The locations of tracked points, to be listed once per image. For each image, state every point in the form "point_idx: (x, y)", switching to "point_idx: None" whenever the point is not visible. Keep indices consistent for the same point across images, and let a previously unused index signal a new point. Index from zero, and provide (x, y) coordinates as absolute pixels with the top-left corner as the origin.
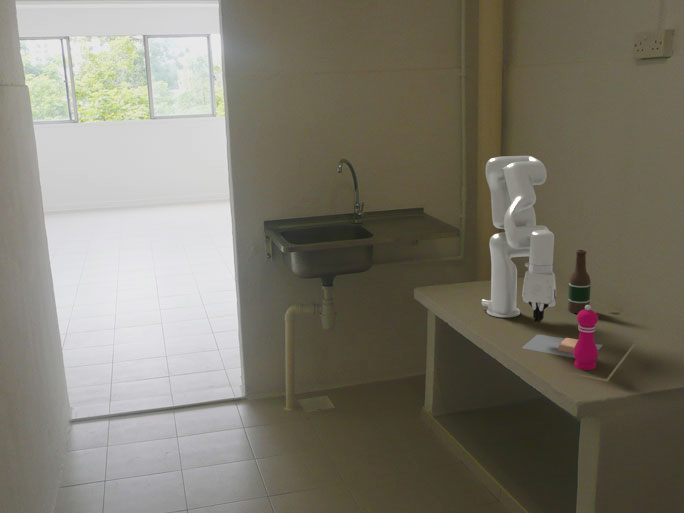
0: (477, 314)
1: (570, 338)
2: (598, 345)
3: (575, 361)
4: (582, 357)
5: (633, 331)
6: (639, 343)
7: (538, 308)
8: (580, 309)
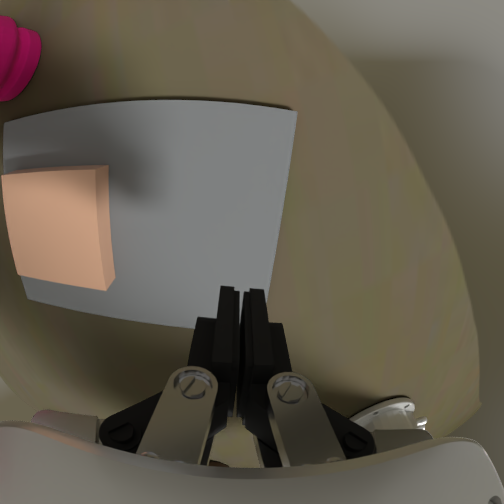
0: (433, 387)
1: (88, 285)
2: (32, 291)
3: (25, 41)
4: None
5: (58, 403)
6: (7, 342)
7: (245, 412)
8: None
